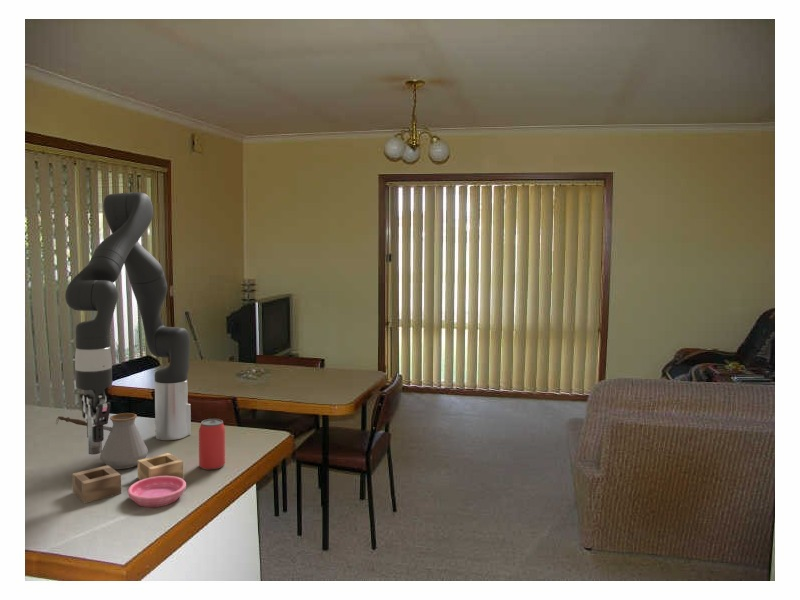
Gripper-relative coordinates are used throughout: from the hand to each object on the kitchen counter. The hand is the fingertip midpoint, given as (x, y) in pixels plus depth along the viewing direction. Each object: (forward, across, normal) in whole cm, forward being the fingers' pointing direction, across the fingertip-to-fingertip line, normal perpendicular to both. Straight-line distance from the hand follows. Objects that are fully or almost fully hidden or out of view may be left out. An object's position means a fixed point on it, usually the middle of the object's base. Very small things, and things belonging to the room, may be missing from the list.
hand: (95, 439), depth 140 cm
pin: (+3, 0, 0) cm, 3 cm away
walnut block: (+13, 0, 0) cm, 13 cm away
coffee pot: (+13, +15, -7) cm, 21 cm away
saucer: (+13, -12, -9) cm, 20 cm away
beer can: (+13, -2, -28) cm, 31 cm away
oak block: (+13, -2, -15) cm, 19 cm away
